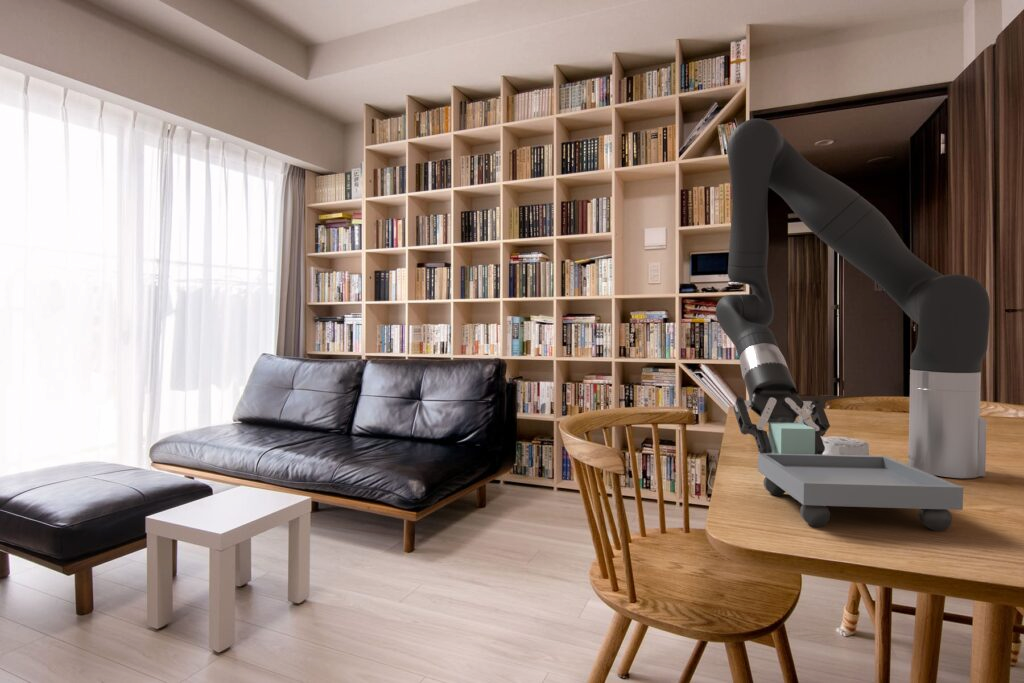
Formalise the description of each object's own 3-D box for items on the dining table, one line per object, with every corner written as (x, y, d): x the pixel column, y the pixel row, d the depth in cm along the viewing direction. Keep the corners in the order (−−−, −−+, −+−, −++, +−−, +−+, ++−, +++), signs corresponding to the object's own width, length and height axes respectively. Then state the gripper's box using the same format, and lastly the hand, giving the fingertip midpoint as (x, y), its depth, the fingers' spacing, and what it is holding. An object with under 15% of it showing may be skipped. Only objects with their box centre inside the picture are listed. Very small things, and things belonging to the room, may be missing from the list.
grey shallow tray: (884, 494, 76) (885, 455, 76) (962, 534, 62) (963, 487, 61) (757, 490, 78) (758, 453, 78) (803, 529, 63) (803, 483, 63)
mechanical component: (823, 470, 90) (888, 473, 88) (823, 445, 90) (888, 447, 88) (804, 455, 100) (861, 458, 98) (804, 433, 100) (862, 435, 98)
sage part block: (799, 477, 85) (800, 422, 85) (814, 486, 80) (815, 428, 80) (768, 476, 86) (768, 422, 86) (780, 485, 81) (781, 428, 81)
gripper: (729, 360, 91) (752, 441, 80) (815, 361, 90) (851, 443, 78) (720, 387, 97) (740, 466, 85) (800, 387, 95) (832, 468, 84)
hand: (793, 454), depth 82 cm, fingers open, 7 cm apart
